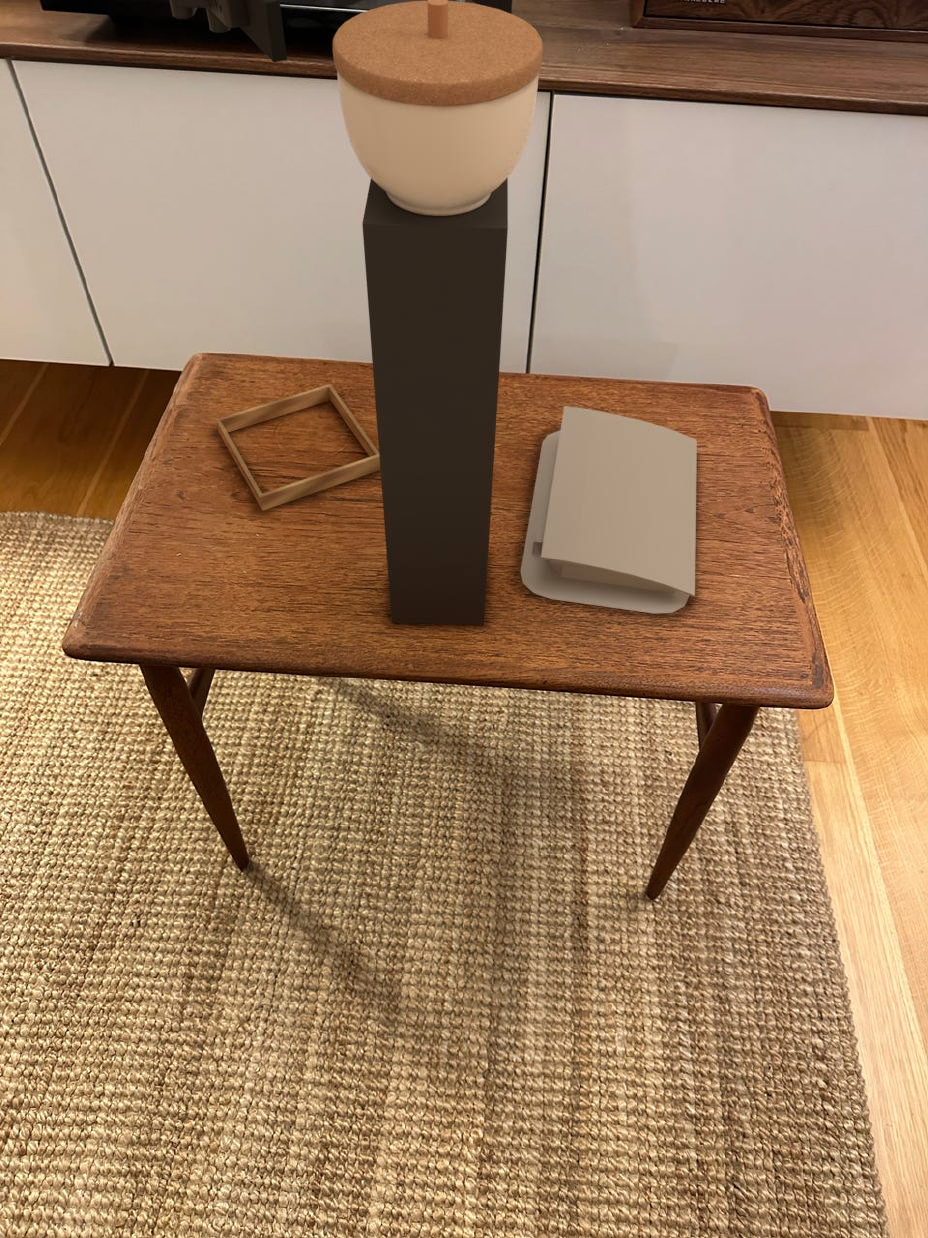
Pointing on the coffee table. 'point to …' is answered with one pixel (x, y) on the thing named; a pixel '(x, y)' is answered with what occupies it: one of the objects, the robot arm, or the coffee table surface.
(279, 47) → the robot arm
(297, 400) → the empty wooden frame
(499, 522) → the coffee table surface
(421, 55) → the trinket box
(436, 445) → the pedestal
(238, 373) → the coffee table surface
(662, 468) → the beige covered tray
